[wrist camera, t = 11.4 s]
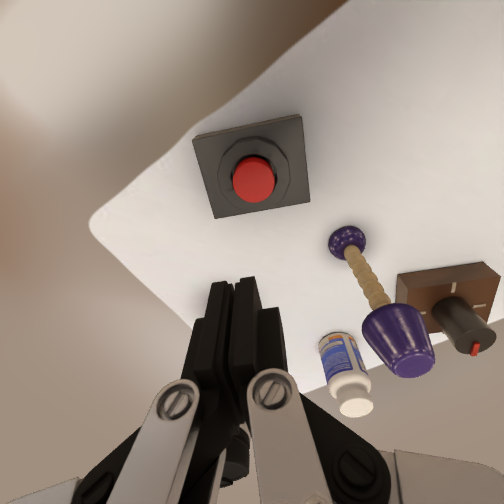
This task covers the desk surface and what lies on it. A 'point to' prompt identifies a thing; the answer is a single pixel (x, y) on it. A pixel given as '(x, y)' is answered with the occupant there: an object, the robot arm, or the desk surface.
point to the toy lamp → (386, 313)
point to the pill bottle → (346, 374)
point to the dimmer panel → (448, 289)
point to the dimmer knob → (463, 326)
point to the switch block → (262, 146)
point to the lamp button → (253, 179)
